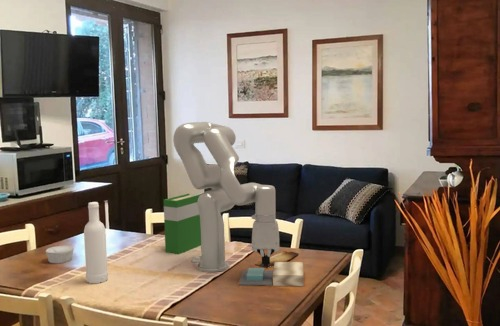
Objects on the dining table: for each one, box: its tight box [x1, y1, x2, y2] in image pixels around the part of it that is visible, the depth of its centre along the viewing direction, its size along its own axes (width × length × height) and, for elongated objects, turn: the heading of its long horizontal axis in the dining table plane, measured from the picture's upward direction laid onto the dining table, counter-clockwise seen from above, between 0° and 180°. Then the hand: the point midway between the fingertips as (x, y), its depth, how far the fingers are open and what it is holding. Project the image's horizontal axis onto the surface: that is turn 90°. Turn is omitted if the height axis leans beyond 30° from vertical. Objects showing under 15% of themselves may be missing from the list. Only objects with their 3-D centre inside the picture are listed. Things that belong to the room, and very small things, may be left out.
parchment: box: [254, 250, 299, 269], centre depth 225 cm, size 25×10×1 cm, turn 145°
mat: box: [238, 269, 273, 287], centre depth 202 cm, size 12×16×1 cm
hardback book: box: [163, 193, 201, 255], centre depth 244 cm, size 18×7×24 cm, turn 149°
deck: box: [272, 261, 304, 287], centre depth 200 cm, size 11×16×4 cm
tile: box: [247, 267, 265, 281], centre depth 202 cm, size 6×9×2 cm, turn 175°
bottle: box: [83, 201, 109, 284], centre depth 201 cm, size 8×8×30 cm
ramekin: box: [45, 245, 75, 264], centre depth 229 cm, size 11×11×5 cm
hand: (265, 265), depth 201 cm, fingers closed
